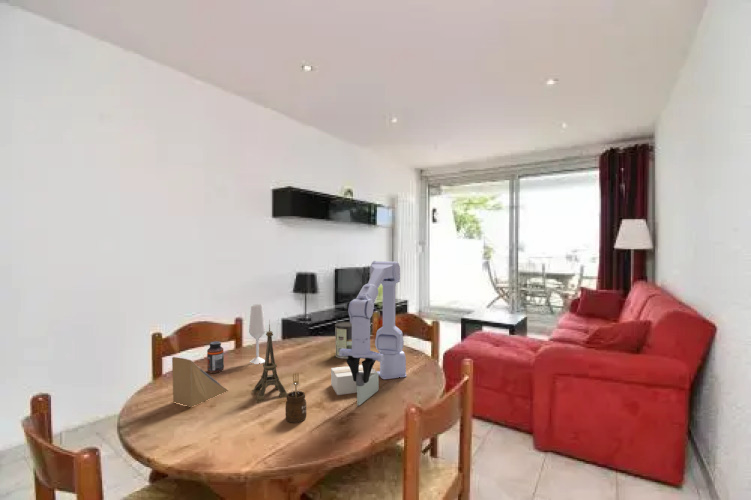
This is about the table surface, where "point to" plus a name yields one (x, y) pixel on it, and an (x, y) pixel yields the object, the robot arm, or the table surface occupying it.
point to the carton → (345, 379)
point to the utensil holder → (295, 404)
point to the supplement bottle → (215, 357)
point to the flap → (366, 386)
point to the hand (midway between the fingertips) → (361, 381)
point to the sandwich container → (192, 383)
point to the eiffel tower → (266, 378)
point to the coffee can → (343, 337)
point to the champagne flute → (257, 328)
